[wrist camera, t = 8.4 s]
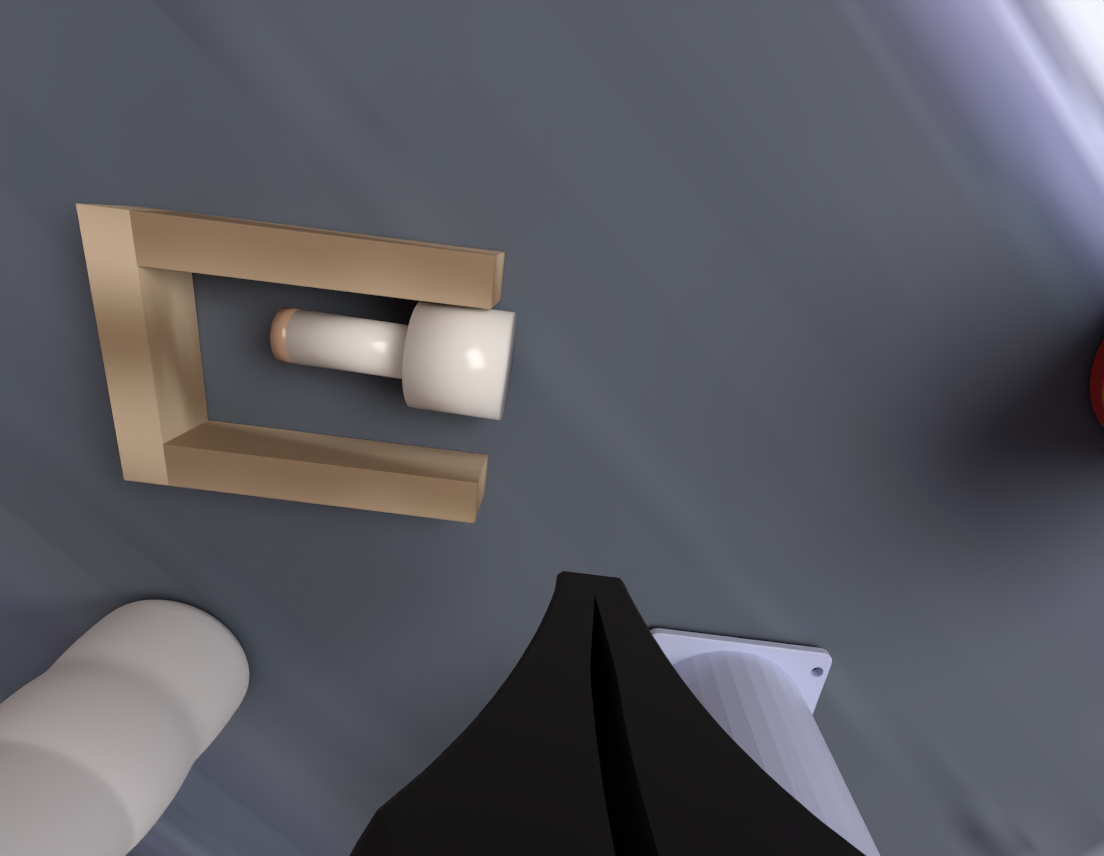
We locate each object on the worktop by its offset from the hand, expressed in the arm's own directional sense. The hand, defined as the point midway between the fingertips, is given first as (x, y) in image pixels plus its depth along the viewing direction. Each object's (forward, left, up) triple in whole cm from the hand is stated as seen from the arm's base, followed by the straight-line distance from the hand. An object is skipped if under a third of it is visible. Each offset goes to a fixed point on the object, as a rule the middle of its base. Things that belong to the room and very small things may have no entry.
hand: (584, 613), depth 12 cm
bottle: (+3, +3, -8) cm, 9 cm away
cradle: (+2, +9, -10) cm, 14 cm away
